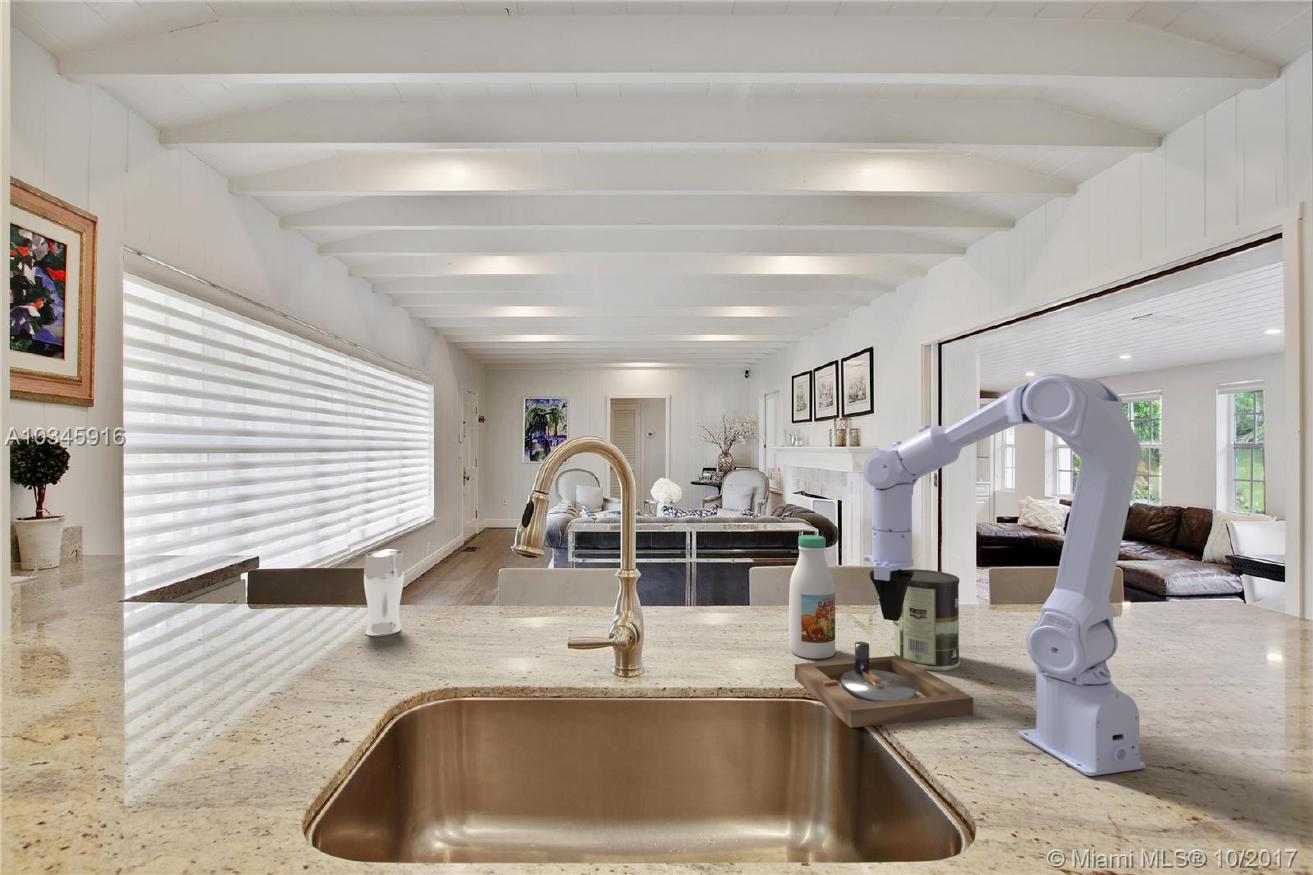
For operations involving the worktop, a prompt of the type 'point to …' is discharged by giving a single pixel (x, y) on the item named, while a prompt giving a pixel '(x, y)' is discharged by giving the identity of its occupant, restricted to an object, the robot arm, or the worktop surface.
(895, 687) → the dial
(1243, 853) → the worktop surface
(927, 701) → the frame
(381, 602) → the beer glass
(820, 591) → the milk bottle
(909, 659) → the coffee can
